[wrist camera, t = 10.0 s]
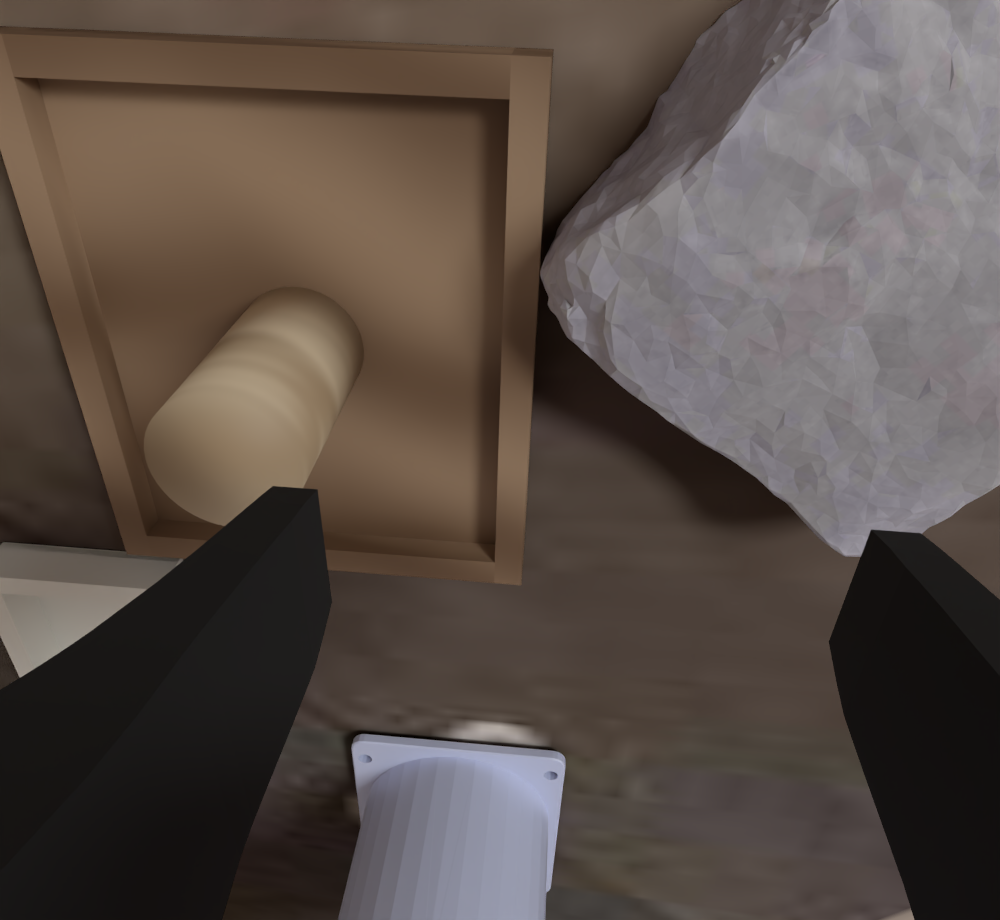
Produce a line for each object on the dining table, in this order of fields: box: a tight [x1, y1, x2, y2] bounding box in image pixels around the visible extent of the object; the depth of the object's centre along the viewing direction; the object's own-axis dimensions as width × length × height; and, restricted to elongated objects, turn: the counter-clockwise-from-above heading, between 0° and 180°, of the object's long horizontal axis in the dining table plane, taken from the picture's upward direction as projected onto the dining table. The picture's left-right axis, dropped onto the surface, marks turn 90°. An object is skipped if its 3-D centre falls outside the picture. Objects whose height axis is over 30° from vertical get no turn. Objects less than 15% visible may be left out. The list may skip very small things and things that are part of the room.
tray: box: [0, 26, 553, 585], centre depth 20 cm, size 14×12×1 cm
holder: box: [0, 542, 183, 677], centre depth 27 cm, size 6×6×2 cm
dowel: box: [144, 287, 364, 526], centre depth 18 cm, size 3×3×6 cm
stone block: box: [540, 0, 1000, 557], centre depth 17 cm, size 12×5×10 cm
